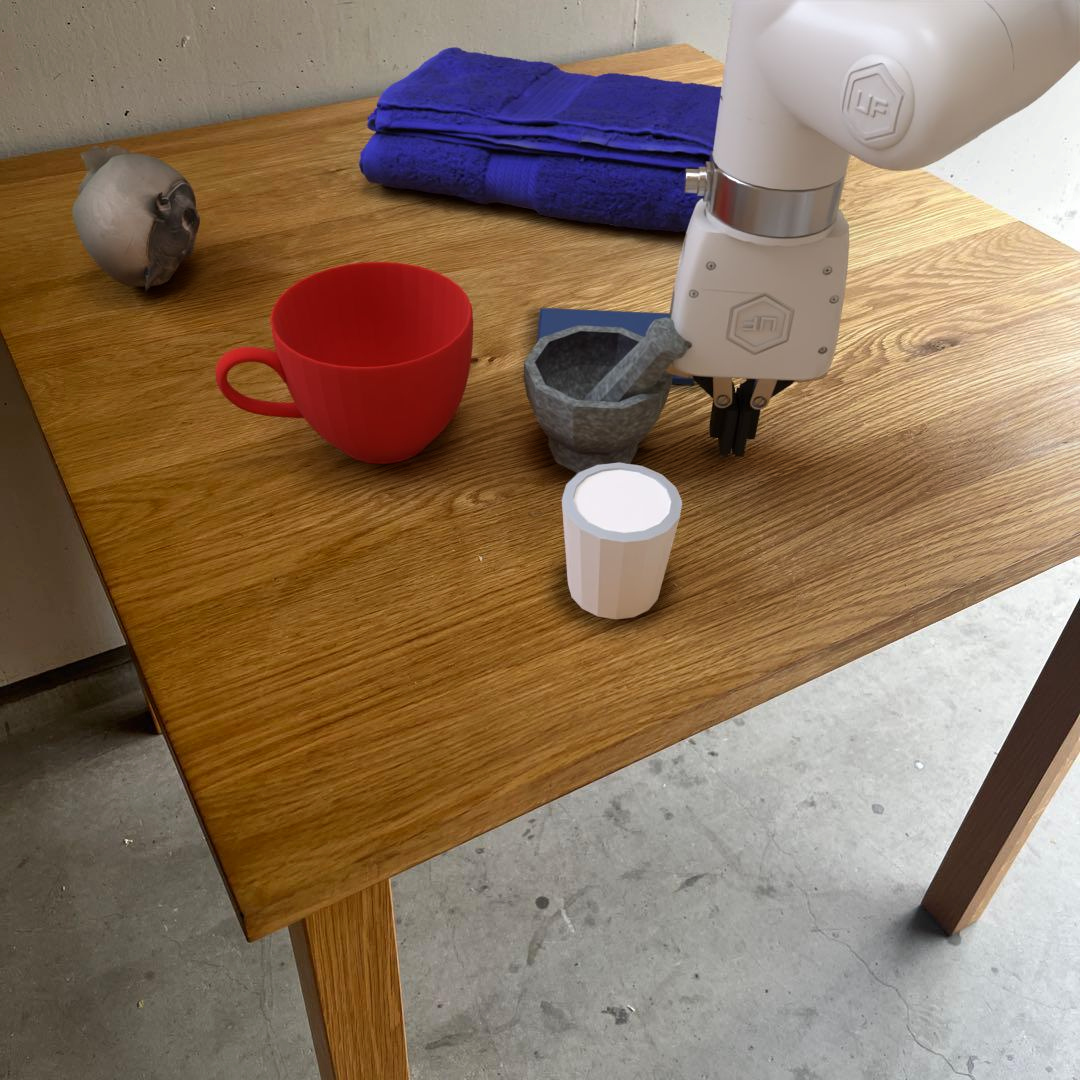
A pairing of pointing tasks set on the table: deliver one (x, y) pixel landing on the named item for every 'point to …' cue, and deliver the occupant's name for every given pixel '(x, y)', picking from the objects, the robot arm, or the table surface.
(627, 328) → the blue flat slab
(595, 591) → the beige tapered cup
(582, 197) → the towel
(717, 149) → the robot arm
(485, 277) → the table surface
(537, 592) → the table surface
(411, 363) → the ceramic cup
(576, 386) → the mortar and pestle
